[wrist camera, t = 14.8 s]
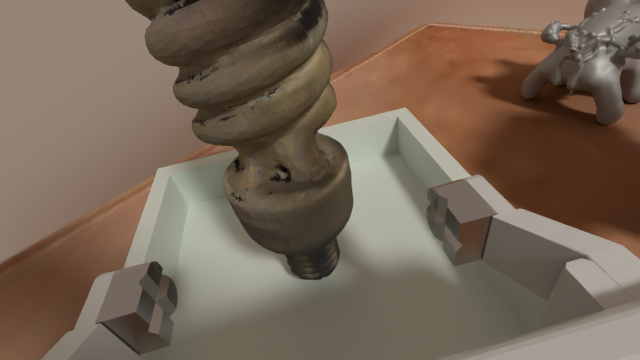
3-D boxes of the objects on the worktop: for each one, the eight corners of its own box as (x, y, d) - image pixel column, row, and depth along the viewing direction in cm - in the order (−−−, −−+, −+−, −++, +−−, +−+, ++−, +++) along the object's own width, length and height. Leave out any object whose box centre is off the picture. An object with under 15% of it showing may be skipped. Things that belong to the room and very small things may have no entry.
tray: (108, 565, 11) (20, 561, 8) (182, 209, 25) (158, 168, 22) (602, 413, 12) (655, 370, 9) (405, 152, 26) (405, 107, 23)
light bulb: (246, 309, 16) (36, -51, 7) (277, 227, 20) (169, -69, 11) (358, 320, 15) (281, -110, 6) (367, 230, 19) (331, -106, 10)
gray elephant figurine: (507, 113, 29) (527, 22, 23) (549, 56, 34) (572, -27, 29) (646, 141, 23) (711, 30, 18) (668, 68, 29) (722, -32, 24)
